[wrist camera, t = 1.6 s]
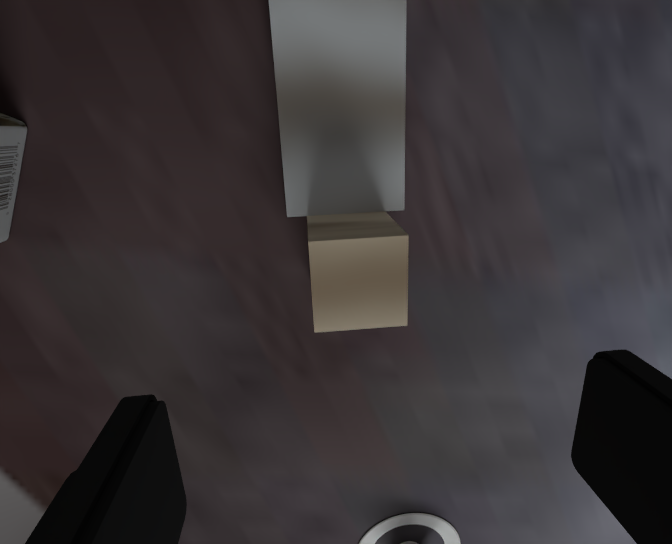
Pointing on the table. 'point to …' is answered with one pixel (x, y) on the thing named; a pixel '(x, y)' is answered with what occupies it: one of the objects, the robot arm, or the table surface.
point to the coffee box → (9, 168)
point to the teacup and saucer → (428, 520)
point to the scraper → (345, 152)
